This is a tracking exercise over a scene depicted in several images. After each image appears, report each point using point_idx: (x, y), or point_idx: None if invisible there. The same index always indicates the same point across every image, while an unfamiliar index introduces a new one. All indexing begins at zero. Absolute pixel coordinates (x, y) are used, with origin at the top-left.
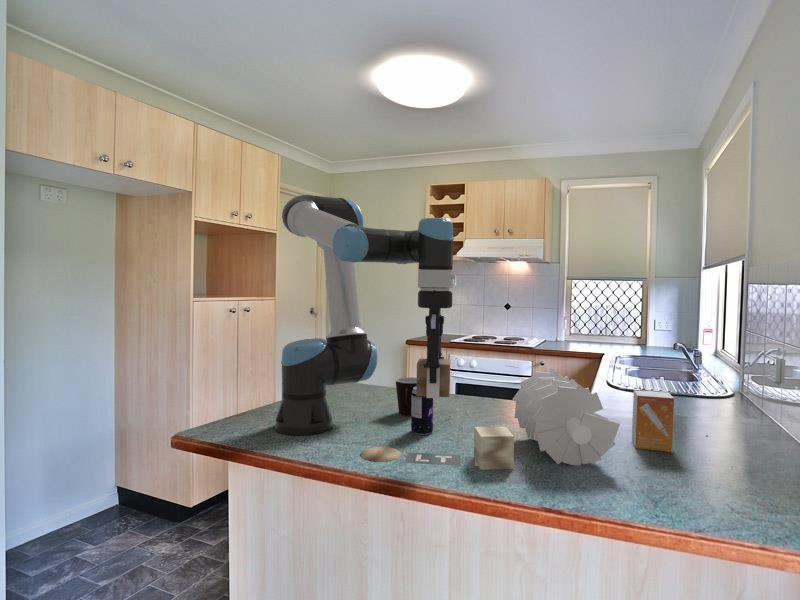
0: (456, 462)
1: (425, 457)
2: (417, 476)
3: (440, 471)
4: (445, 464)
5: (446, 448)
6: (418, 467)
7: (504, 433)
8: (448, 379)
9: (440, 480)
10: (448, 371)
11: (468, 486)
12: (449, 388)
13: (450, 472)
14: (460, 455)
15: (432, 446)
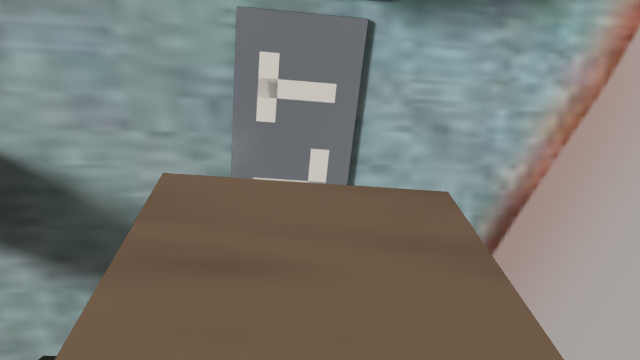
0: (335, 34)
1: (283, 162)
2: (454, 186)
3: (410, 104)
4: (359, 84)
5: (129, 65)
6: (369, 183)
7: None
8: (506, 286)
9: (496, 107)
10: (544, 351)
11: (562, 4)
12: (369, 211)
13: (421, 65)
14: (243, 8)
15: (113, 128)
